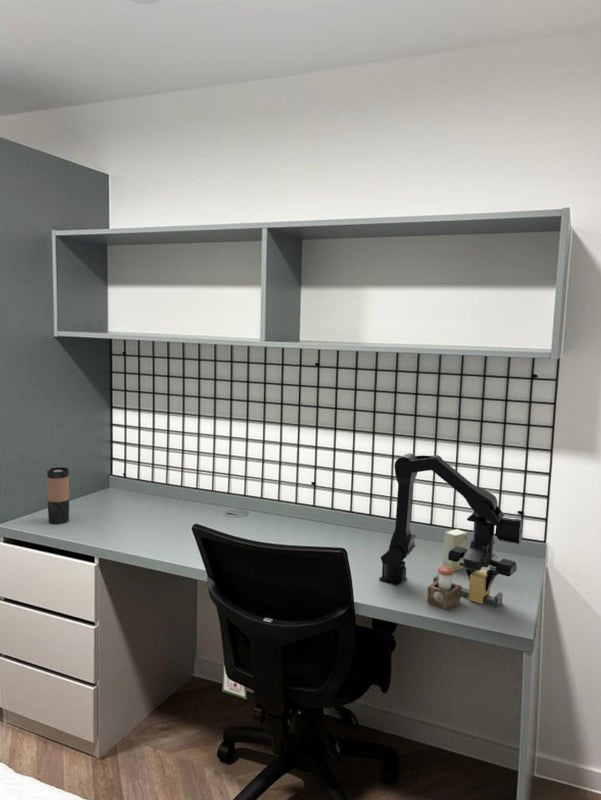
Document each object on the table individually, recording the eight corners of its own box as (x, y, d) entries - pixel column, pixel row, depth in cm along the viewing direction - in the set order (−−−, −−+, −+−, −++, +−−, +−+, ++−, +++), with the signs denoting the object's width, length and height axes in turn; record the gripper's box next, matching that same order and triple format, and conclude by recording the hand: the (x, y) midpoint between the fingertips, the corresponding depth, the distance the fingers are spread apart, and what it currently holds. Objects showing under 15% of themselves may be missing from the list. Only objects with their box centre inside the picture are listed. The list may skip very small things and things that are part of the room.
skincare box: (452, 572, 206) (454, 535, 205) (441, 567, 210) (444, 531, 208) (465, 568, 210) (467, 532, 208) (454, 563, 213) (457, 528, 212)
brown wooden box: (426, 603, 183) (427, 586, 182) (438, 595, 189) (439, 578, 188) (449, 611, 179) (450, 594, 178) (460, 602, 185) (461, 585, 184)
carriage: (468, 599, 186) (470, 574, 185) (476, 593, 190) (478, 568, 189) (481, 603, 183) (483, 578, 182) (489, 597, 188) (491, 572, 187)
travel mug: (72, 522, 242) (71, 470, 239) (52, 525, 237) (51, 473, 234) (65, 516, 248) (64, 466, 245) (45, 520, 243) (43, 468, 240)
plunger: (433, 592, 183) (435, 569, 182) (440, 587, 187) (442, 565, 186) (448, 596, 181) (449, 573, 180) (454, 591, 184) (456, 569, 183)
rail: (432, 587, 194) (433, 577, 194) (438, 584, 197) (438, 574, 196) (497, 608, 182) (498, 597, 181) (502, 603, 185) (502, 593, 184)
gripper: (440, 536, 184) (437, 588, 186) (504, 553, 172) (500, 608, 175) (457, 527, 193) (454, 576, 195) (519, 542, 181) (515, 594, 183)
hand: (479, 588), depth 187 cm, fingers closed on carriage, 4 cm apart
